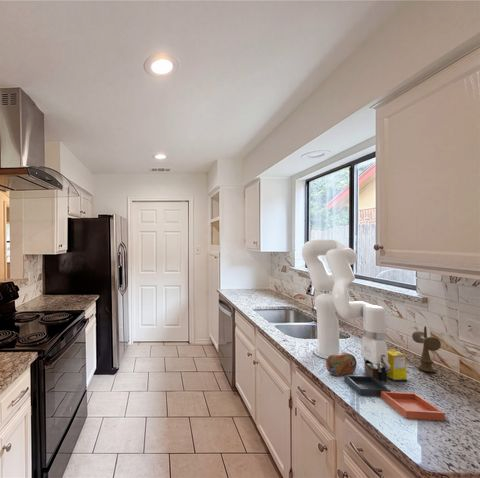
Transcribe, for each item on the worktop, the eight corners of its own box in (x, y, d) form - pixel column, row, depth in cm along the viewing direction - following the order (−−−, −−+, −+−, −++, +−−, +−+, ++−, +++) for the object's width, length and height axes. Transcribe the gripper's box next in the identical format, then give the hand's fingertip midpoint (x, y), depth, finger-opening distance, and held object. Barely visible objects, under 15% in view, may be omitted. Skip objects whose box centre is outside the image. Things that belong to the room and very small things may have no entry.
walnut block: (365, 374, 116) (364, 363, 116) (377, 375, 115) (377, 363, 115) (372, 380, 111) (372, 368, 111) (385, 381, 110) (385, 369, 110)
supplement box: (393, 373, 116) (393, 349, 116) (407, 381, 110) (406, 354, 110) (380, 374, 116) (380, 349, 116) (393, 381, 110) (393, 355, 110)
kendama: (425, 374, 115) (424, 329, 115) (411, 365, 124) (410, 322, 125) (442, 376, 113) (441, 330, 114) (427, 366, 123) (426, 323, 123)
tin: (331, 377, 114) (330, 357, 114) (324, 373, 117) (324, 354, 117) (357, 372, 118) (357, 353, 118) (350, 369, 121) (350, 350, 121)
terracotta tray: (380, 397, 99) (380, 391, 99) (415, 399, 97) (414, 392, 97) (406, 418, 87) (405, 410, 87) (445, 420, 86) (445, 413, 86)
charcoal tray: (344, 380, 111) (344, 374, 111) (371, 382, 110) (371, 376, 110) (360, 395, 100) (360, 388, 100) (391, 397, 99) (390, 390, 99)
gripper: (352, 328, 122) (353, 366, 122) (379, 342, 105) (380, 386, 105) (370, 328, 121) (370, 367, 121) (399, 342, 104) (401, 387, 104)
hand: (375, 375), depth 113 cm, fingers open, 7 cm apart
